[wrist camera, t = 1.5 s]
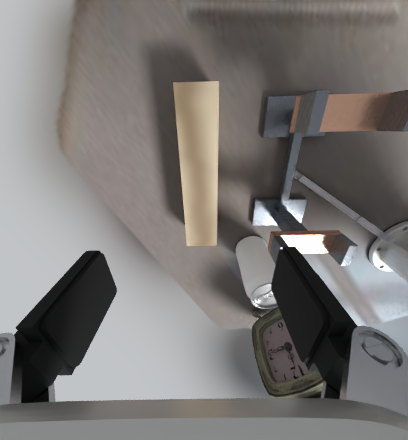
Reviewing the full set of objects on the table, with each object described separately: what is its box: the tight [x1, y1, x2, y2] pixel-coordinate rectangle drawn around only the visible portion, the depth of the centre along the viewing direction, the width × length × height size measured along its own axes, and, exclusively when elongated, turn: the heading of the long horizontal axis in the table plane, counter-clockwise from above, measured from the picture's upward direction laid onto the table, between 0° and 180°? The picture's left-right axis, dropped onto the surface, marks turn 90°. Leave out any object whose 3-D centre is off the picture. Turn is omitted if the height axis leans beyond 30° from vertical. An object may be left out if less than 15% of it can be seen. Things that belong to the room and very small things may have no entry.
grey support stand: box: [251, 90, 408, 266], centre depth 23 cm, size 9×20×13 cm, turn 1°
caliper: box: [294, 170, 395, 244], centre depth 29 cm, size 20×1×6 cm, turn 59°
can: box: [236, 236, 278, 309], centre depth 32 cm, size 6×6×12 cm
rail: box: [173, 81, 219, 246], centre depth 27 cm, size 5×22×6 cm, turn 1°
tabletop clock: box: [252, 308, 324, 398], centre depth 35 cm, size 14×9×25 cm, turn 136°
